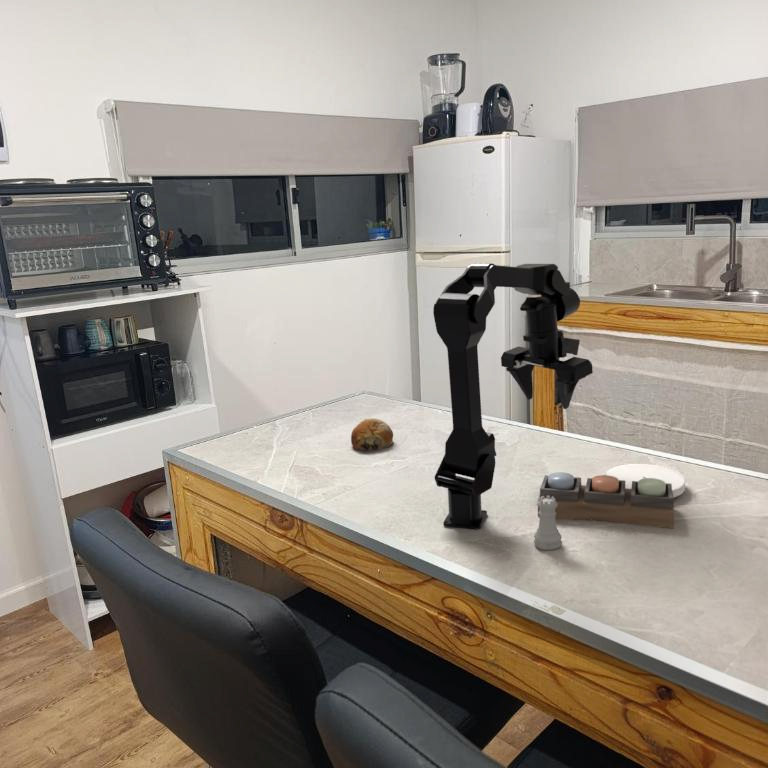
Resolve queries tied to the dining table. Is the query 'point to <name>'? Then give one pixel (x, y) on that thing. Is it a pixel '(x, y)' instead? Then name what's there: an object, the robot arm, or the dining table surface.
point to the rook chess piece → (547, 525)
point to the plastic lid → (648, 475)
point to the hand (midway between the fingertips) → (547, 403)
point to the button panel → (612, 504)
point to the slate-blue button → (561, 481)
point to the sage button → (651, 487)
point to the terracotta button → (605, 484)
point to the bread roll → (371, 435)
